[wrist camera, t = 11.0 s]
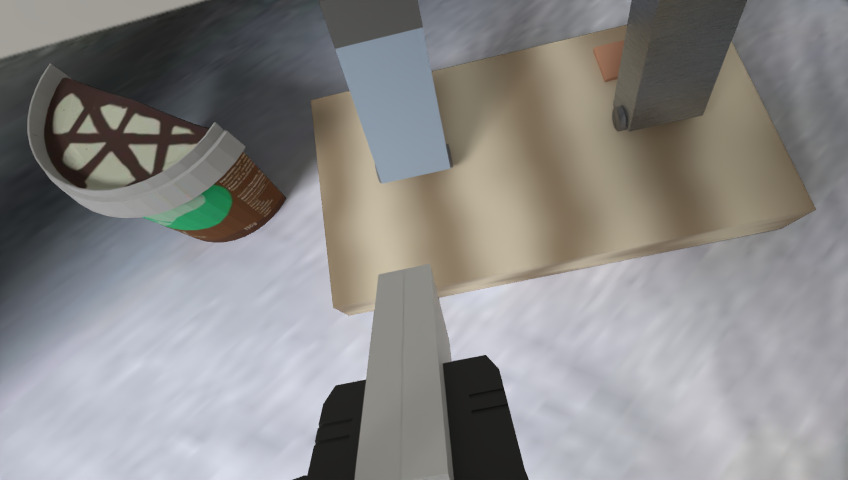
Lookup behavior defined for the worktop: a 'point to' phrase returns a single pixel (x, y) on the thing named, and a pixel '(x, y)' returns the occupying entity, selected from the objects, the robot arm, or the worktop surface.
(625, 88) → the lever
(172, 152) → the food container
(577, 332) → the worktop surface
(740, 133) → the switch board
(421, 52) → the lever
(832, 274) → the worktop surface
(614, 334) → the worktop surface
